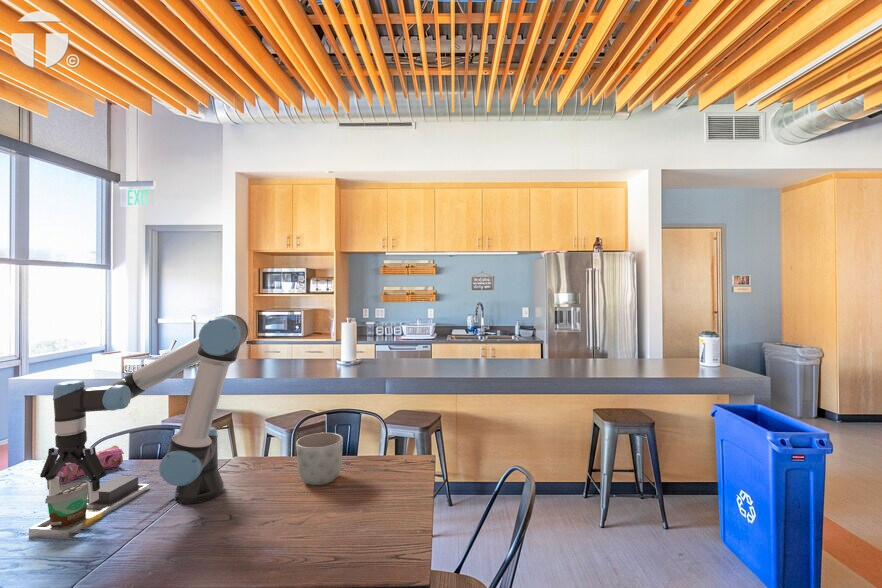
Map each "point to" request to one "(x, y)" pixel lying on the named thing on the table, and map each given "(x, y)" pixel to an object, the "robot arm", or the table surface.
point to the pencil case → (106, 457)
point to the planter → (319, 457)
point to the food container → (68, 505)
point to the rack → (92, 515)
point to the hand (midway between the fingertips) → (74, 500)
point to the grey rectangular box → (116, 489)
